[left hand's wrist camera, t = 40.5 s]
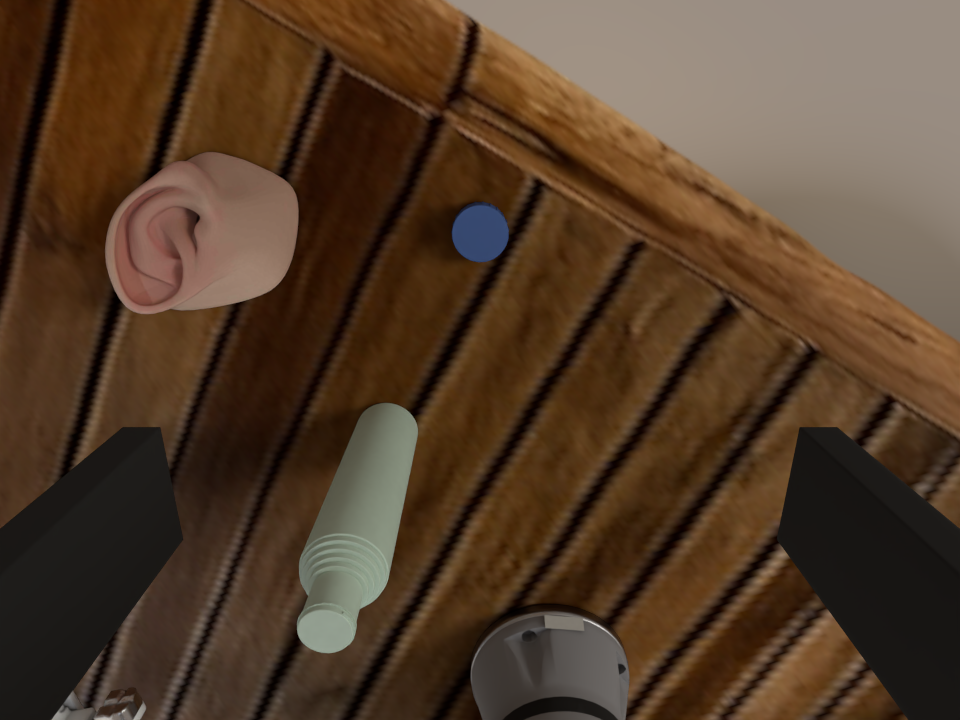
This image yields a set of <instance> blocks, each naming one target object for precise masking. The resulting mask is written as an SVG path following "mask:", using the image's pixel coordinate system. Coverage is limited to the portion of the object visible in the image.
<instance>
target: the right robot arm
mask: <svg viewBox="0 0 960 720" xmlns="http://www.w3.org/2000/svg"><path fill="white" fill-rule="evenodd" d="M145 710H146V705H145V704H144V702H143V700H142V698H141V697H140V695H139V693H138V692H137V690H136V688H128V689H127V690H123V689H120V690H114V691H111V692H110V694H109V695H108V697H107V698H106V700H105V702H104V706H103V707H101V708H100V709H99V710H98V712H96V711H95V709H94V708H86V709H84V708H83V706H82V704H81V703H80V701H79V699H78V698H77V696H76V694H75V693H74V691H72V692H71V694H70V695H69V697H68V698H67V699H66V701H65V702H64V703H63V705H62V706H61V708H60V709H59V710H58V712H57V713H56V714H55V716H54V717H53V719H52V720H140V719H141V717H142V715H143V714H144V712H145Z"/></svg>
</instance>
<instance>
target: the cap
mask: <svg viewBox="0 0 960 720" xmlns="http://www.w3.org/2000/svg"><path fill="white" fill-rule="evenodd" d="M508 231H509V228H508V226H507V220H506V219H505V217H504V215H503V213H501V211H500V210H499V209H498V207H495V206H493V205H491V203H490V204H489V203H485V202H475V203H472V204H468V205H467V206H466V207H464V208H463V209H461V211H460V212H459V213H458V215H456V218H455V221H454V222H453V229H452V232H451V233H452V238H453V239H452V240H453V242H454V245H455V248H456V249H457V250H458V252H459V253H460V254H461V255H462V256H464V257H465V258H467V259H469V260H471V261H475V262H486V261H489V260H492V259H494V258H495V257H497V256H498V255H499V254H500V253H501V252H502V251H503V250H504V248H505V246H506V244H507V241H508V238H509V237H508Z"/></svg>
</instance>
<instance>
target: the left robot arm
mask: <svg viewBox="0 0 960 720" xmlns="http://www.w3.org/2000/svg"><path fill="white" fill-rule="evenodd" d="M182 540H183V536H182V531H181V527H180V522H179V517H178V512H177V507H176V502H175V497H174V492H173V487H172V483H171V478H170V473H169V468H168V463H167V458H166V453H165V448H164V443H163V438H162V434H161V429H160V427H123V428H121V429H120V430H119V431H118V432H117V433H115V434H114V435H113V436H112V437H111V438H109V439H108V440H107V441H106V442H105V443H103V444H102V445H101V446H100V447H99V448H97V449H96V450H95V451H94V452H92V453H91V454H90V455H89V456H88V457H86V458H85V459H84V460H83V461H82V462H80V463H79V464H78V465H77V466H76V467H74V468H73V469H72V470H71V471H69V472H68V473H67V474H66V475H65V476H63V477H62V478H61V479H60V480H59V481H57V482H56V483H55V484H54V485H53V486H51V487H50V488H49V489H48V490H47V491H45V492H44V493H43V494H42V495H40V496H39V497H38V498H37V499H36V500H34V501H33V502H32V503H31V504H30V505H28V506H27V507H26V508H25V509H24V510H22V511H21V512H20V513H19V514H18V515H16V516H15V517H14V518H13V519H11V520H10V521H9V522H8V523H7V524H5V525H4V526H3V527H2V528H1V529H0V720H52V719H53V717H54V716H55V714H56V713H57V712H58V710H59V709H60V708H61V706H62V705H63V703H64V702H65V701H66V699H67V698H68V697H69V695H70V694H71V692H72V691H73V690H74V688H75V687H76V686H77V684H78V683H79V682H80V680H81V679H82V677H83V676H84V675H85V673H86V672H87V671H88V669H89V668H90V666H91V665H92V664H93V662H94V661H95V660H96V658H97V657H98V655H99V654H100V653H101V651H102V650H103V649H104V647H105V646H106V644H107V643H108V642H109V640H110V639H111V638H112V636H113V635H114V633H115V632H116V631H117V629H118V628H119V627H120V625H121V624H122V623H123V621H124V620H125V618H126V617H127V616H128V614H129V613H130V612H131V610H132V609H133V607H134V606H135V605H136V603H137V602H138V601H139V599H140V598H141V596H142V595H143V594H144V592H145V591H146V590H147V588H148V587H149V585H150V584H151V583H152V581H153V580H154V579H155V577H156V576H157V574H158V573H159V572H160V570H161V569H162V568H163V566H164V565H165V564H166V562H167V561H168V559H169V558H170V557H171V555H172V554H173V553H174V551H175V550H176V548H177V547H178V546H179V544H180V543H181V542H182ZM777 540H778V542H779V543H780V544H781V546H782V547H783V548H784V550H785V551H786V553H787V554H788V555H789V557H790V558H791V559H792V561H793V562H794V564H795V565H796V566H797V568H798V569H799V570H800V572H801V573H802V574H803V576H804V577H805V579H806V580H807V581H808V583H809V584H810V585H811V587H812V588H813V590H814V591H815V592H816V594H817V595H818V596H819V598H820V599H821V601H822V602H823V603H824V605H825V606H826V607H827V609H828V610H829V612H830V613H831V614H832V616H833V617H834V618H835V620H836V621H837V623H838V624H839V625H840V627H841V628H842V629H843V631H844V632H845V633H846V635H847V636H848V638H849V639H850V640H851V642H852V643H853V644H854V646H855V647H856V649H857V650H858V651H859V653H860V654H861V655H862V657H863V658H864V660H865V661H866V662H867V664H868V665H869V666H870V668H871V669H872V671H873V672H874V673H875V675H876V676H877V677H878V679H879V680H880V682H881V683H882V684H883V686H884V687H885V688H886V690H887V691H888V692H889V694H890V695H891V697H892V698H893V699H894V701H895V702H896V703H897V705H898V706H899V708H900V709H901V710H902V712H903V713H904V714H905V716H906V717H907V719H908V720H960V529H959V528H958V527H957V526H956V525H955V524H953V523H952V522H951V521H950V520H949V519H947V518H946V517H945V516H944V515H942V514H941V513H940V512H939V511H938V510H936V509H935V508H934V507H933V506H932V505H930V504H929V503H928V502H927V501H926V500H924V499H923V498H922V497H921V496H920V495H918V494H917V493H916V492H915V491H913V490H912V489H911V488H910V487H909V486H907V485H906V484H905V483H904V482H903V481H901V480H900V479H899V478H898V477H897V476H895V475H894V474H893V473H892V472H891V471H889V470H888V469H887V468H886V467H884V466H883V465H882V464H881V463H880V462H878V461H877V460H876V459H875V458H874V457H872V456H871V455H870V454H869V453H868V452H866V451H865V450H864V449H863V448H861V447H860V446H859V445H858V444H857V443H855V442H854V441H853V440H852V439H851V438H849V437H848V436H847V435H846V434H845V433H843V432H842V431H841V430H840V429H839V428H837V427H800V429H799V434H798V438H797V443H796V448H795V453H794V458H793V463H792V468H791V473H790V478H789V482H788V487H787V492H786V497H785V502H784V507H783V512H782V517H781V522H780V527H779V531H778V536H777ZM471 684H472V690H473V695H474V698H475V701H476V703H477V705H478V707H479V710H480V713H481V716H482V719H483V720H625V718H626V708H627V699H628V689H629V668H628V662H627V658H626V654H625V651H624V647H623V645H622V642H621V640H620V638H619V637H618V635H617V634H616V632H615V631H614V630H613V629H612V628H611V627H610V626H609V625H608V624H607V623H606V622H605V621H604V620H602V619H601V618H599V617H598V616H596V615H594V614H592V613H590V612H587V611H585V610H582V609H579V608H575V607H571V606H565V605H537V606H531V607H527V608H523V609H520V610H517V611H515V612H512V613H510V614H508V615H506V616H504V617H502V618H501V619H499V620H498V621H496V622H495V623H494V624H492V625H491V626H490V627H489V628H488V629H487V630H486V631H485V632H484V633H483V634H482V636H481V637H480V639H479V640H478V642H477V644H476V646H475V648H474V651H473V654H472V660H471Z"/></svg>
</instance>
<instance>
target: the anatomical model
mask: <svg viewBox="0 0 960 720" xmlns="http://www.w3.org/2000/svg"><path fill="white" fill-rule="evenodd" d="M297 230H298V201H297V197H296V194H295V192H294V190H293V188H292V187H291V186H290V184H289V183H288V182H286V181H285V180H284V179H282V178H281V177H279V176H277V175H276V174H274V173H272V172H270V171H268V170H266V169H264V168H262V167H259V166H257V165H255V164H253V163H251V162H248V161H246V160H243V159H240V158H236V157H233V156H229V155H226V154H222V153H217V152H206V153H202V154H199V155H196V156H194V157H192V158H191V159H189V160H187V161H176V162H173V163H171V164H169V165H167V166H166V167H164V168H163V169H162V170H161V171H159V172H158V173H157V174H156V175H154V176H153V177H152V178H150V179H149V180H148V181H146V182H145V183H143V184H142V185H141V186H139V187H138V188H137V189H135V190H134V191H133V192H132V193H131V194H129V195H128V196H127V197H126V198H125V199H124V200H123V202H122V203H121V204H120V205H119V207H118V208H117V210H116V211H115V213H114V215H113V217H112V219H111V222H110V225H109V228H108V232H107V238H106V247H105V258H106V265H107V270H108V273H109V277H110V280H111V282H112V285H113V287H114V290H115V292H116V293H117V295H118V297H119V299H120V300H121V301H122V303H123V304H124V305H125V306H126V307H127V308H128V309H130V310H132V311H133V312H136V313H140V314H154V313H158V312H162V311H165V310H168V309H175V310H197V309H206V308H212V307H218V306H223V305H228V304H233V303H237V302H241V301H245V300H249V299H252V298H254V297H257V296H260V295H262V294H264V293H267V292H268V291H270V290H272V289H273V288H274V287H276V286H277V285H278V284H279V283H280V282H281V280H282V279H283V277H284V276H285V274H286V272H287V271H288V268H289V266H290V263H291V261H292V257H293V253H294V250H295V244H296V238H297Z"/></svg>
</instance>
